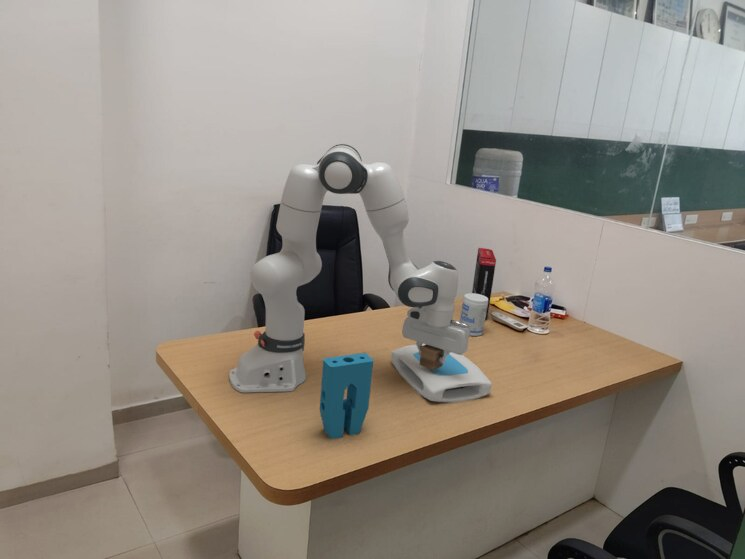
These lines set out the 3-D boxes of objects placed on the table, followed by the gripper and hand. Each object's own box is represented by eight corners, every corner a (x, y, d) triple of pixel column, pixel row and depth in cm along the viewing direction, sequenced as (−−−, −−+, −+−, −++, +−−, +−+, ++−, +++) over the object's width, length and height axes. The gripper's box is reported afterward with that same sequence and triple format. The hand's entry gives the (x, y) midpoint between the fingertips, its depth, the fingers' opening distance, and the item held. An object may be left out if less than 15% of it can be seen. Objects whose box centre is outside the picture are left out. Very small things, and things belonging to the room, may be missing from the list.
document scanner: (444, 358, 189) (446, 341, 187) (490, 398, 164) (494, 379, 163) (389, 363, 180) (391, 346, 178) (430, 406, 156) (432, 387, 154)
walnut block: (432, 370, 161) (435, 352, 159) (419, 364, 164) (421, 346, 162) (442, 366, 164) (445, 347, 163) (429, 360, 167) (431, 342, 166)
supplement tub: (454, 332, 212) (460, 296, 208) (462, 325, 220) (467, 291, 216) (478, 339, 208) (484, 302, 204) (485, 331, 216) (491, 296, 212)
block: (358, 421, 144) (365, 352, 138) (367, 431, 140) (374, 360, 134) (316, 430, 138) (322, 358, 133) (324, 440, 134) (330, 367, 128)
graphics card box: (487, 321, 228) (498, 258, 220) (471, 319, 228) (481, 256, 220) (483, 307, 244) (493, 249, 236) (468, 305, 245) (477, 247, 237)
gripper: (475, 322, 157) (467, 365, 161) (412, 304, 167) (406, 346, 171) (467, 328, 152) (460, 373, 156) (402, 309, 161) (397, 352, 165)
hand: (431, 358), depth 163 cm, fingers closed on walnut block, 5 cm apart
